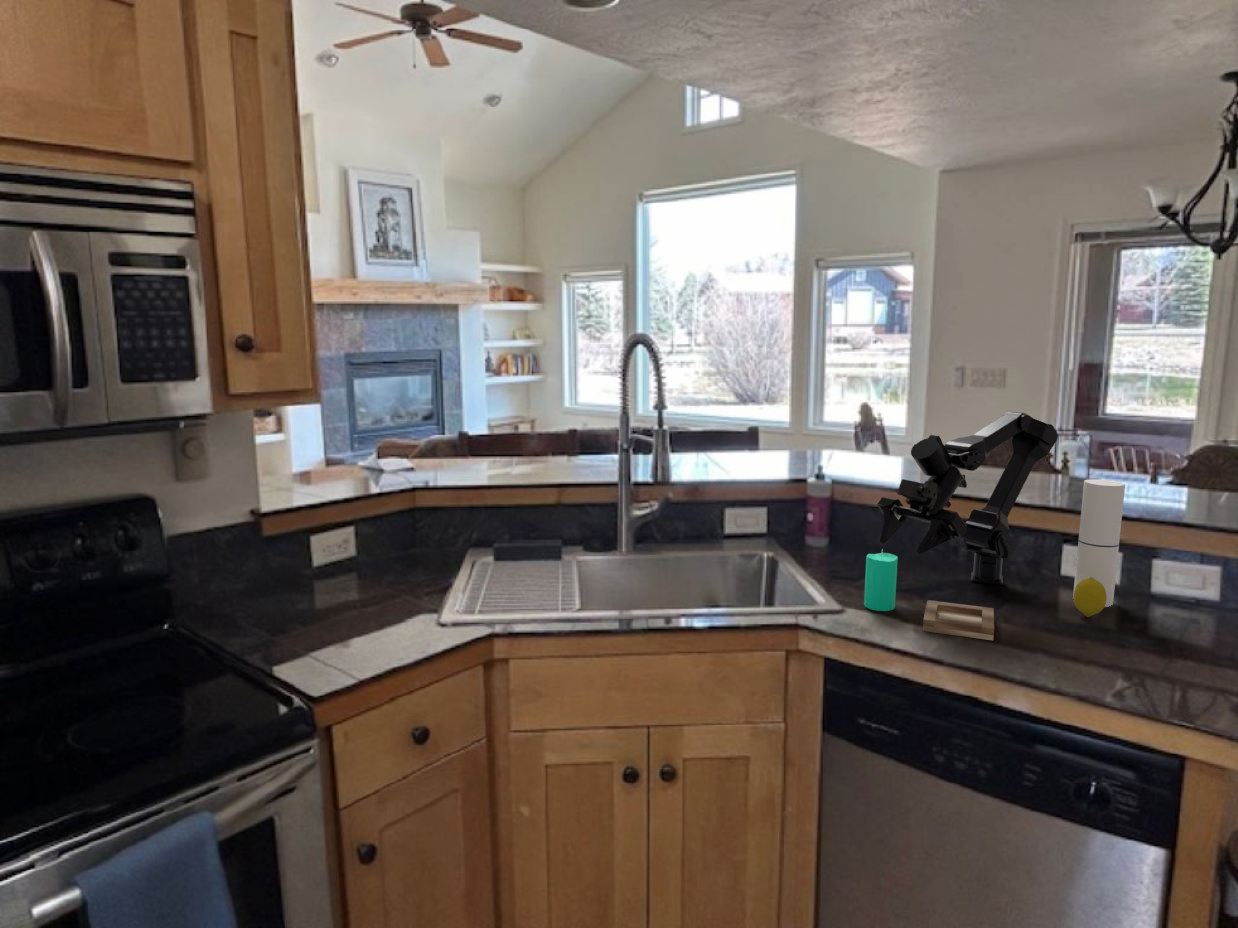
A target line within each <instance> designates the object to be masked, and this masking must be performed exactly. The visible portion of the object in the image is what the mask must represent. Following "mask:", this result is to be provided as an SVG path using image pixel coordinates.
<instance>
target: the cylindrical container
mask: <svg viewBox="0 0 1238 928" xmlns="http://www.w3.org/2000/svg"><path fill="white" fill-rule="evenodd" d="M1125 489H1126V483H1125V482H1122V481H1118V480H1109V479H1098V478H1097V479H1096V478H1094V479H1085V480H1083V489H1082V498H1081V511H1080V519H1079V520H1080V521H1079V530H1078V531H1079V532H1078V543H1077V550H1076V551H1077V552H1076V563H1075V572H1074V573H1075V575H1074V585H1073V592H1074V591H1075V588H1076V586H1077V584H1078V583H1079V582H1080V581H1082V580H1085V579H1089V578H1090V577H1092V578H1094V579H1095V580H1097V581H1099V582H1100V583H1101V584H1102V585H1103V586H1104V588H1105V591H1106V604H1105V607H1104V608H1108V607H1109V606H1110V607H1112V606H1113V605H1114V599H1115V587H1116V578H1117V568H1118V567H1117V566H1118V560H1119V549H1120V540H1121V529H1122V520H1123V519H1122V518H1123V510H1124V500H1125ZM1072 595H1073V596H1074V593H1073V594H1072ZM1073 596H1072V600H1073V599H1074V598H1073ZM1111 605H1112V606H1111Z"/></svg>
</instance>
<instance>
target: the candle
mask: <svg viewBox="0 0 1238 928" xmlns="http://www.w3.org/2000/svg"><path fill="white" fill-rule="evenodd" d="M883 551H884V550H883V548H882V549H881V552H880V553H868V554H867V555H866V558H865V575H864V576H865V578H864V579H865V580H864V594H863V595H864V597H863V605H864V607H865V608H867V609H869V610H873V611H878V612H889V611H893V610H895V608H896V593H897V578H898V577H897V576H898V560H899V559H898V558H899V557H898V556H897V555H895V554H893V553H889V552H883Z"/></svg>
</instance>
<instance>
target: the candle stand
mask: <svg viewBox="0 0 1238 928" xmlns="http://www.w3.org/2000/svg"><path fill="white" fill-rule="evenodd" d="M994 609H995V608H993V607H985V606H978V605H971V604H962V603H953V602H946V601H940V600H939V601H938V600H929V599H928V600H927V602H926V605H925V610H924V615H923V621H922V631H923V632H928V633H929V632H930V633H937V634H943V635H944V634H945V635H949V636H950V635H951V636H956V637H957V636H958V637H964V638H972V639H978V640H987V641H992V642H993V641H994V637H995V636H994V635H995V616H994V615H995V612H994Z"/></svg>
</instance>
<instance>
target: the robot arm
mask: <svg viewBox="0 0 1238 928" xmlns="http://www.w3.org/2000/svg"><path fill="white" fill-rule="evenodd" d="M1055 428H1056V427H1054V425H1053V424H1051V423H1046V422H1044V421H1042V420H1039V419H1036V418H1033V417H1032V416H1030V415H1029V414H1027V413H1025V412H1016V411H1007V412H1004V413H1003V414H1002V415H1001V416H1000V418H999V417H998V419H996V420H994V421H993V422H992V423H989V424H988V425H987V426H984V427H983V428H982V429H980V430H978V431H977V432H976V433H974V434H972V435H968V436H964V437H963V436H962V437H957V438H954V439H951V440H949V441H948V442H946V443H945V444H944V443H943V441H942V439H941V436H939V435H935V434H930V435H929V436H928V437H927V438H924V439H922V440H919V441H917V443H915V444H914V445H913V446H912V448H910V449H911V450H910V455H911V456H912V458H913V460H914V461H915V463H916V464H917V466H918V467H919V469H920V470H921V472H922V473H923V474H924V475H926V476H927V477H929V478H928V479H927V480H926V481H925V482H924V483H921V482H918V481H915V480H914V481H913V480H909V479H901V481H900V483H899V486H898V489H897V492H896V494H897V495H899V496H903V497H904V498H906V499H905V503H906V504H907V505H909V507H906V506H904V505H903V503H902V502H901V500H900V499H899V498H896V497H890V496H882V497H881V498H880V500H879V501H878V503H876V506H877V507H878V508H879V510H880V512H881V513H882V515H883V525H882V530H881V534H880V539H879V543H880V545H882V546H883V545H885V544H886V543H887V542H888V541H889V540H891V538H892V537H894V536H895V534H897V532H898V531H900V530H901V528H902V527H904V526H903V524H902V523H905V522H906V520H907V519H913V520H918V521H921V522H924V523H928V524H929V523H930V526H929V529H928V531H927V532H926V534H925V536H924V537H923V539H922V540H921V542H919V544H918V547H917V549H916V551H915V553H916V555H918V556H920V555H923V554H924V553H927V552H928V551H930V550H932V549H934V548H936V547H938V546H940V545H942V544H944V543H946V542H949V541H955V540H956V539H963V542H964V546H965V550H966V551H970V552H974V557H973V558H974V559H973V560H974V561H973V571H971V573H970V575H971V576H970V581H971V582H973V583H983V584H984V583H985V584H992V585H998V586H999V585H1004V577H1003V575H1002V570H1003V569H1002V567H1003V559H1009V558H1011V557H1012V556H1013V554H1014V552H1015V545H1014V544H1013V542H1012V541H1011V539H1010V538H1009V537H1008V535H1009V533H1010V524H1009V519H1008V517H1009V515H1010V513H1011V511H1012V509H1013V507H1014V505H1015V503H1016V501H1017V499H1018V497H1019V496H1020V493H1021V492H1022V490H1023V487H1024V485H1025V483H1026V482H1027V480H1028V477H1029V475H1030V474H1031V471H1032V469H1033V468H1034V465H1036V462H1039V461H1040V460H1041V459H1043V458H1044V457H1046V456H1048V455H1049V453H1050V452H1051V450H1052V449H1053V447H1054V446H1055V444H1056V443H1057V440H1058V431H1057V430H1056V429H1055ZM1010 439H1011V440H1010ZM1008 440H1010V442H1011V443H1010V444H1011V449H1012V454H1011V456H1010V458H1009V460H1008V461H1007V464H1006V466H1005V468H1004V470H1003V471H1002V473H1001V476H1000V477H999V480H998V482H997V483H996V485H995V487H994V489H993V492H992V493H991V495H990V497H989V499H988V501H987V502H986V505H985V507H983V508H981V509H978V508H974V509H973V510H971V512H970V515H969V517H968V518H967V520H966V522H964V520H963V519H962V517H961V516H960V515H959V513H958V512H957V511H954V510H950V507H951V506H952V503H951V502H950V500H951V498H952V496H953V495H954V493H955V492H956V491H957V489H958V488H964V489H966V488H967V487H968V485H967V484H968V482H967V481H966V475H965V474H962V472H961V471H960V470H966V471H972V472H973V471H976V470H977V469H978V468H979V467H981V466H982V465H983V464H984V463H985V462H986V461H987V457H988V454H989V453H990V452H991V451H993V450H994V449H996V448H997V447H999V446H1000V445H1002V444H1004V443H1005V442H1007V441H1008ZM945 508H948V509H945Z"/></svg>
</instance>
